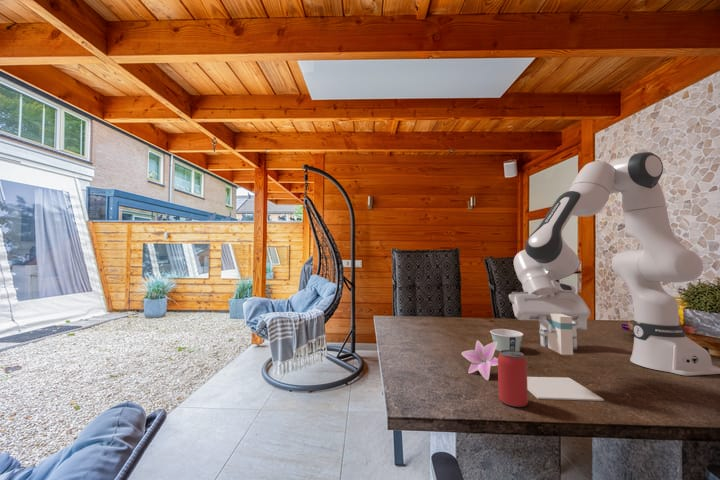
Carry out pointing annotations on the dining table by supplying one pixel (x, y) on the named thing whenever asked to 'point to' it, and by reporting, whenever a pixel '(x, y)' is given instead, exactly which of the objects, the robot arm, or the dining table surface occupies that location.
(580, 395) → the mat
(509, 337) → the food container
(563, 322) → the card box
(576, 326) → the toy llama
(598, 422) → the dining table surface
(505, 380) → the beer can
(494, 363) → the lily
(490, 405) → the dining table surface
